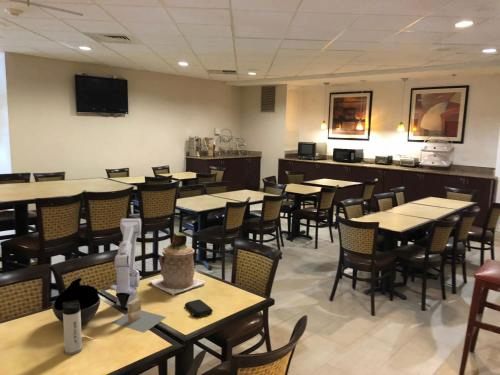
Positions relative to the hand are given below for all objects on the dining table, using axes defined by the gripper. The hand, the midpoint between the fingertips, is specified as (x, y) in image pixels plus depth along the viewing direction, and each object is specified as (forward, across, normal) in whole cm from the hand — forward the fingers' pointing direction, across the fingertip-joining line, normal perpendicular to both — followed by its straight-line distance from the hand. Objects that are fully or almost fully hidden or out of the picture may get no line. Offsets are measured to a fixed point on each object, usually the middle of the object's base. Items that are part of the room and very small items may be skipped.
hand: (123, 306), depth 178 cm
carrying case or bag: (+6, +27, +22) cm, 35 cm away
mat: (+5, +8, +1) cm, 10 cm away
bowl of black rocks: (+6, -16, -13) cm, 21 cm away
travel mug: (+6, +2, -30) cm, 31 cm away
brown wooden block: (+5, +6, 0) cm, 8 cm away
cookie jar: (+6, -2, +45) cm, 46 cm away
